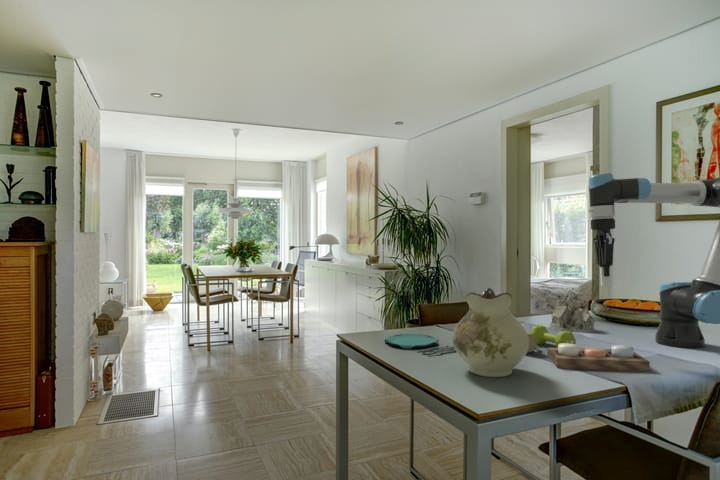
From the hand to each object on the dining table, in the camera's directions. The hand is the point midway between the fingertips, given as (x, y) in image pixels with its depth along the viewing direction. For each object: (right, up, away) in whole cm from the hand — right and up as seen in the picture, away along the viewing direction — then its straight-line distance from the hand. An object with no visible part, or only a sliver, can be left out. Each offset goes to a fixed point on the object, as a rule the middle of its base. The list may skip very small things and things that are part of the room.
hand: (605, 285), depth 155 cm
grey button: (-3, -22, -14) cm, 26 cm away
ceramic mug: (-27, -24, +5) cm, 36 cm away
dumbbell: (-15, -24, +9) cm, 30 cm away
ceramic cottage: (+8, -24, +42) cm, 49 cm away
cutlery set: (-63, -25, +15) cm, 70 cm away
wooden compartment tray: (-10, -24, -12) cm, 29 cm away
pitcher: (-46, -25, -18) cm, 56 cm away
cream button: (-18, -22, -11) cm, 31 cm away
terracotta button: (-10, -24, -12) cm, 29 cm away
